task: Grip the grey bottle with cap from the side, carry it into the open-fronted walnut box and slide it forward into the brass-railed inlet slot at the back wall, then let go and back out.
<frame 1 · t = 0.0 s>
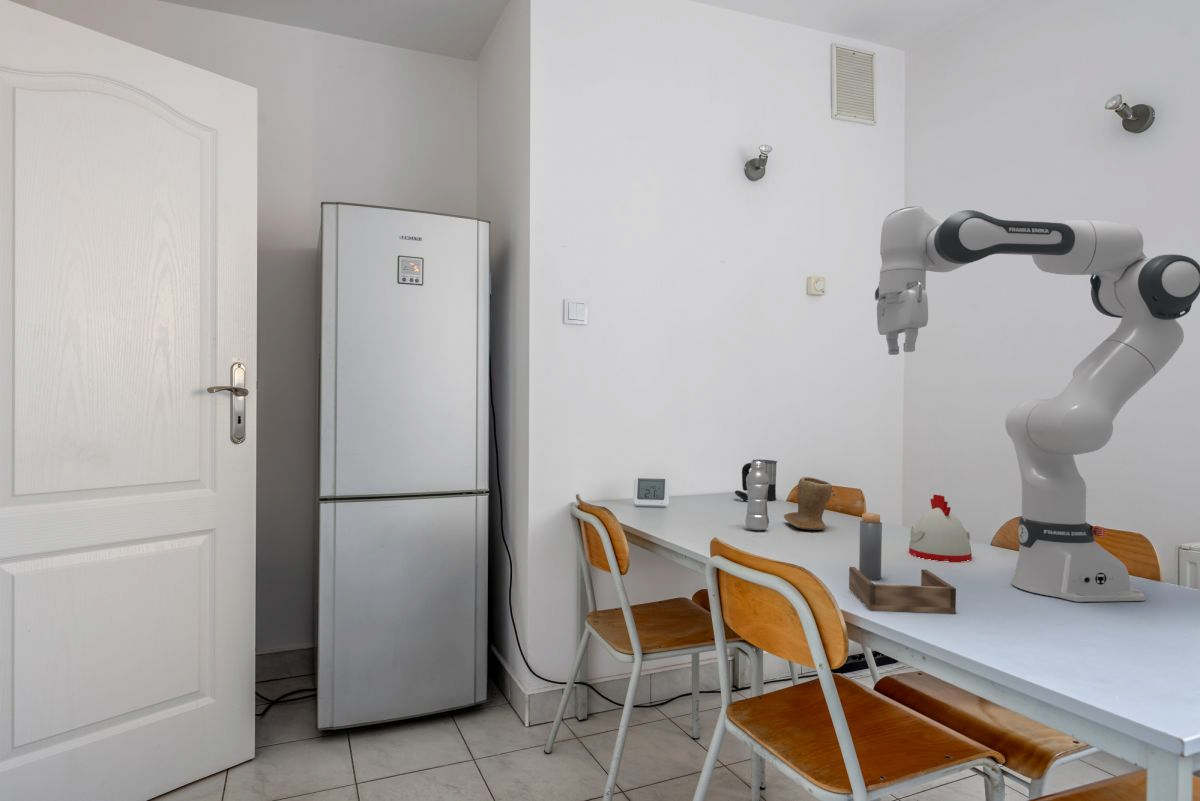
hand: (901, 353, 146), 48 cm above the table, tool pointing down, fingers open, 8 cm apart
box: (899, 600, 134), on the table
brown flared piece: (808, 528, 208), on the table
kitchen timer: (939, 556, 173), on the table
plastic bottle: (756, 531, 203), on the table
grey bottle with cap: (869, 577, 151), on the table
milk frother: (755, 500, 264), on the table
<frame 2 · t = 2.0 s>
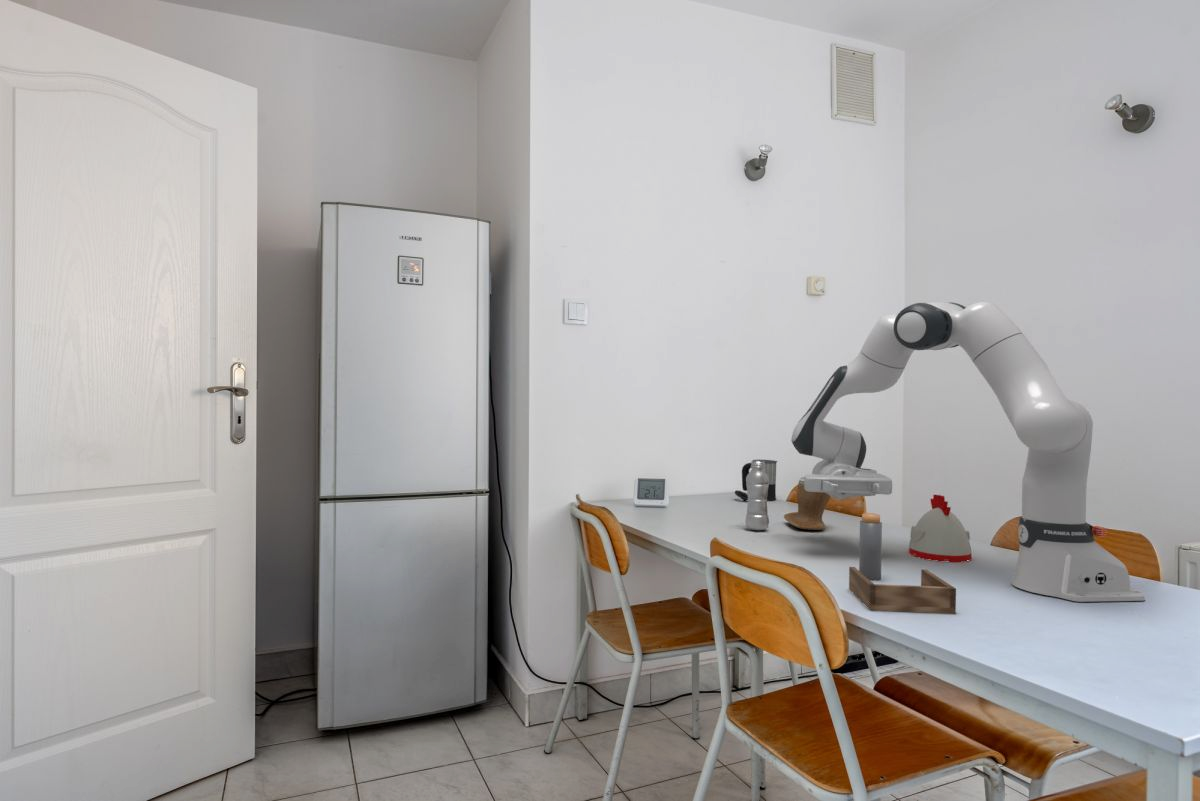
hand: (855, 488, 163), 18 cm above the table, tool horizontal, fingers open, 8 cm apart
nothing on the table moved.
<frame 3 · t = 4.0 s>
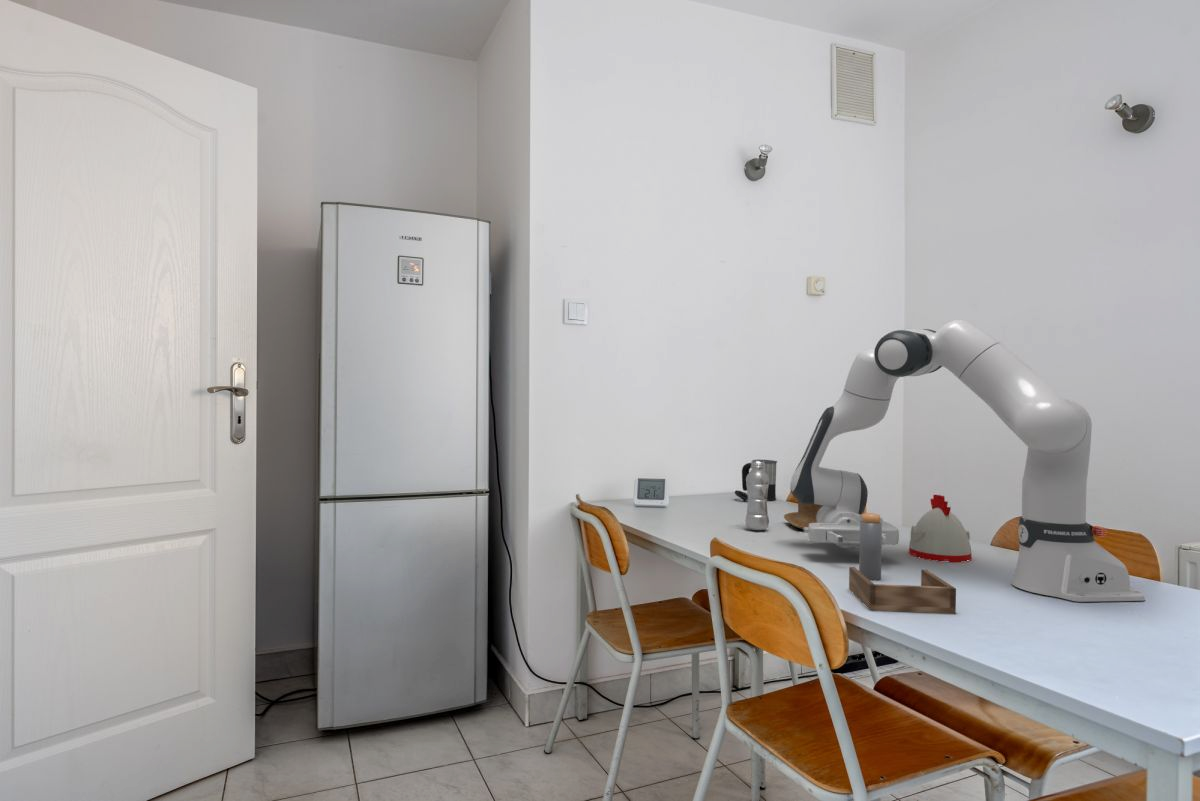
hand: (861, 540, 158), 6 cm above the table, tool horizontal, fingers open, 8 cm apart
nothing on the table moved.
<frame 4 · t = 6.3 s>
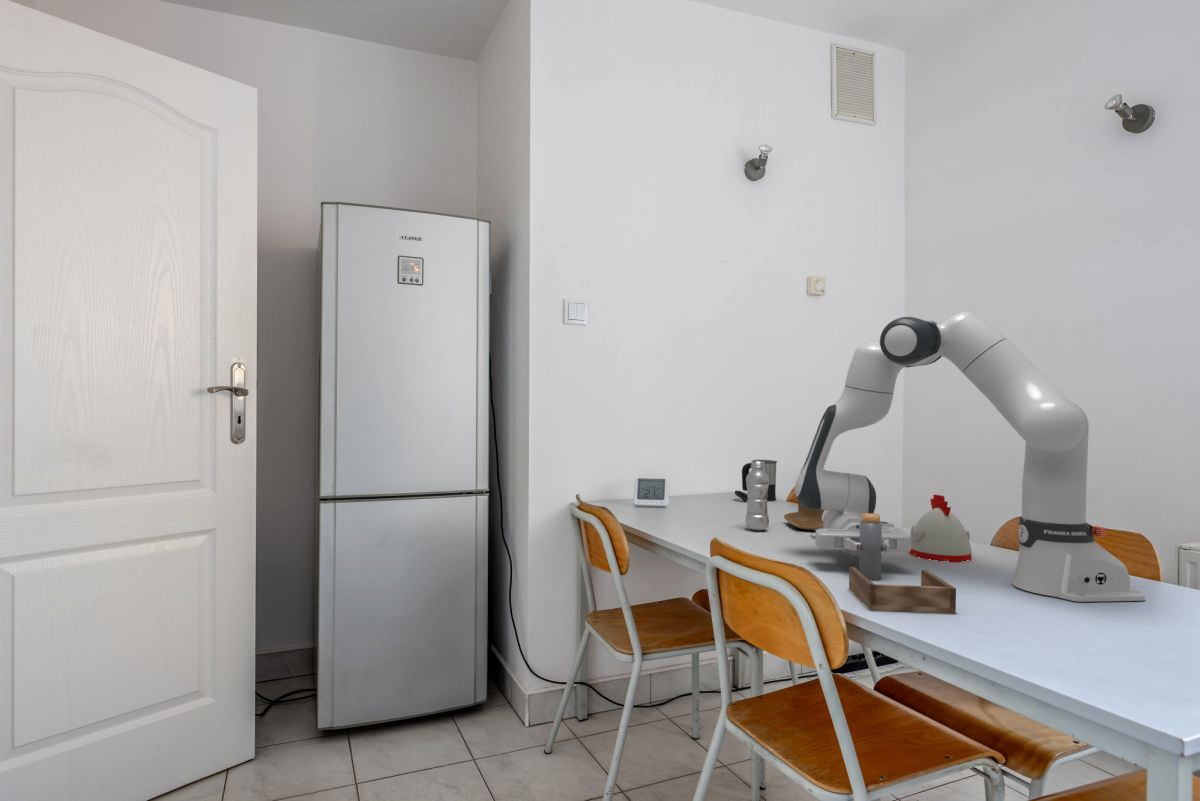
hand: (871, 547, 150), 7 cm above the table, tool horizontal, fingers closed on grey bottle with cap, 4 cm apart
grey bottle with cap: (869, 577, 151), on the table, touching gripper
everything else where it was.
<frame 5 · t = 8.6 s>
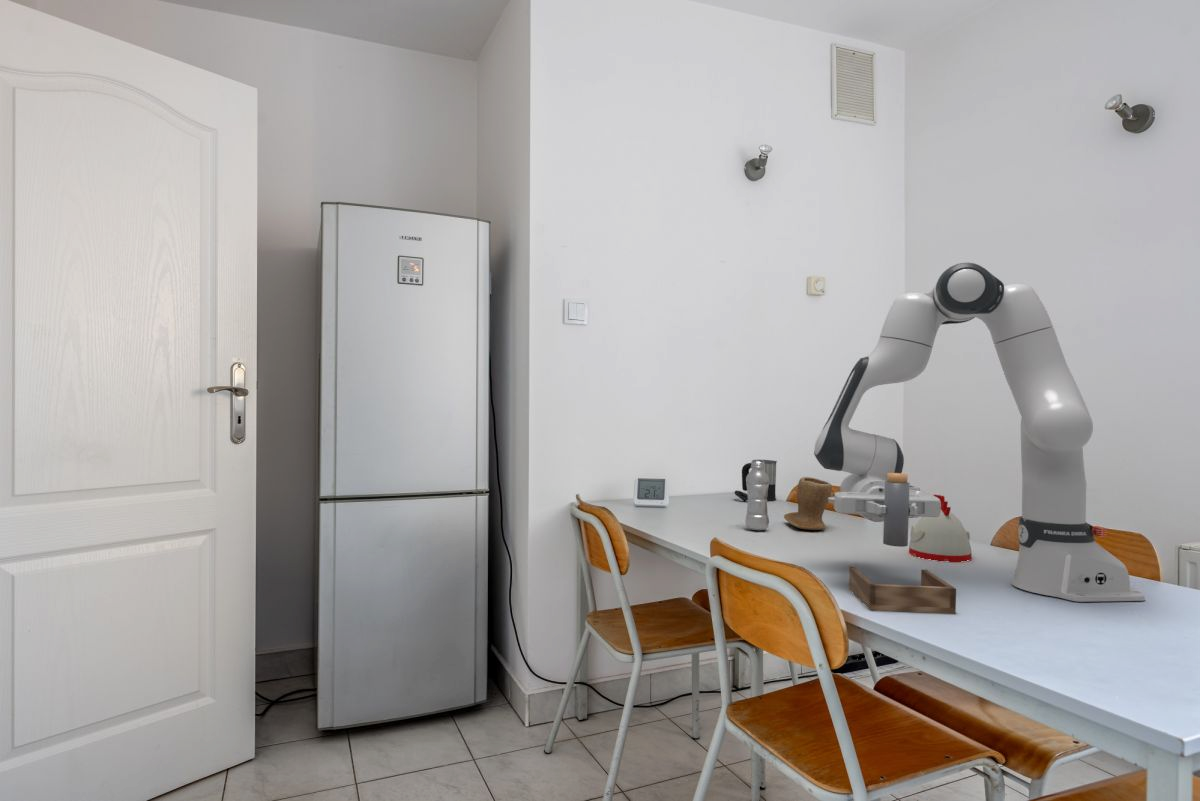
hand: (897, 510, 135), 17 cm above the table, tool horizontal, fingers closed on grey bottle with cap, 4 cm apart
grey bottle with cap: (895, 544, 136), point 10 cm above the table, touching gripper
everything else where it was.
when the fingers open (9 cm above the table, at t = 11.1 s): grey bottle with cap drops 1 cm, resting on box.
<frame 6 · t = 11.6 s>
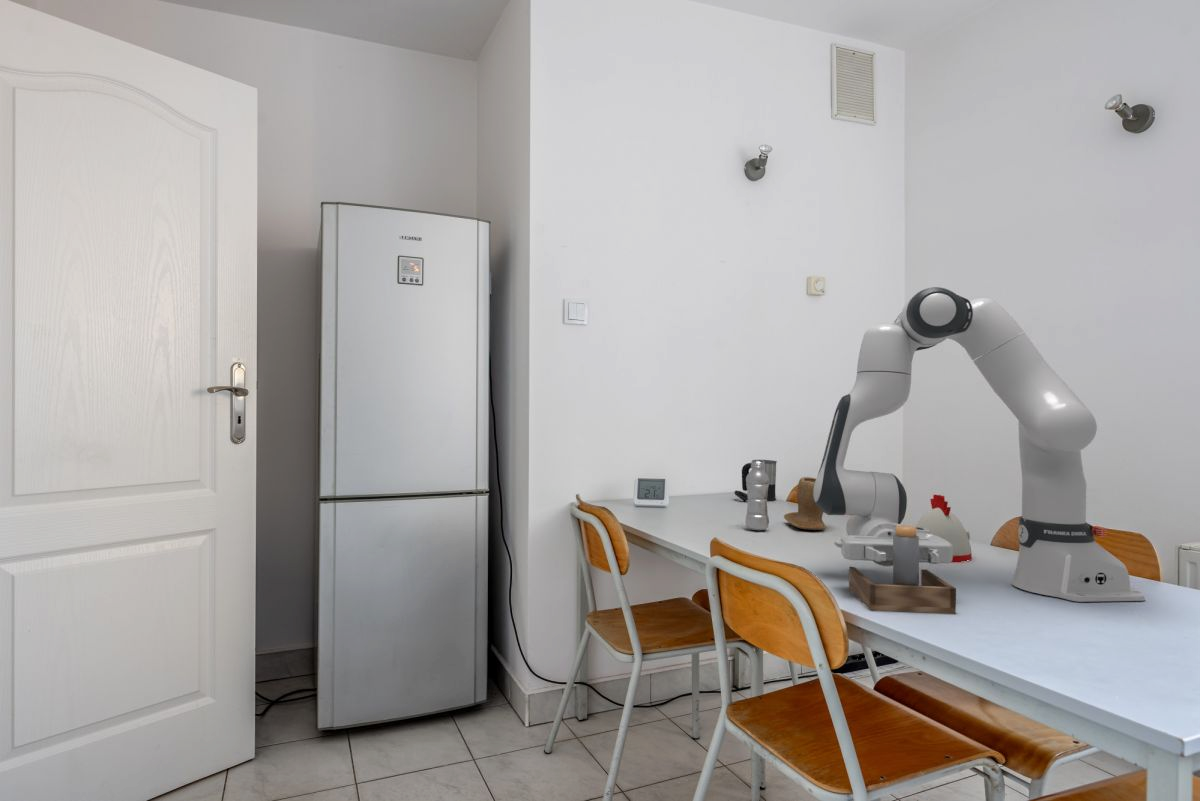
hand: (908, 558, 129), 9 cm above the table, tool horizontal, fingers open, 8 cm apart
grey bottle with cap: (905, 600, 130), point 1 cm above the table, touching box
everything else where it was.
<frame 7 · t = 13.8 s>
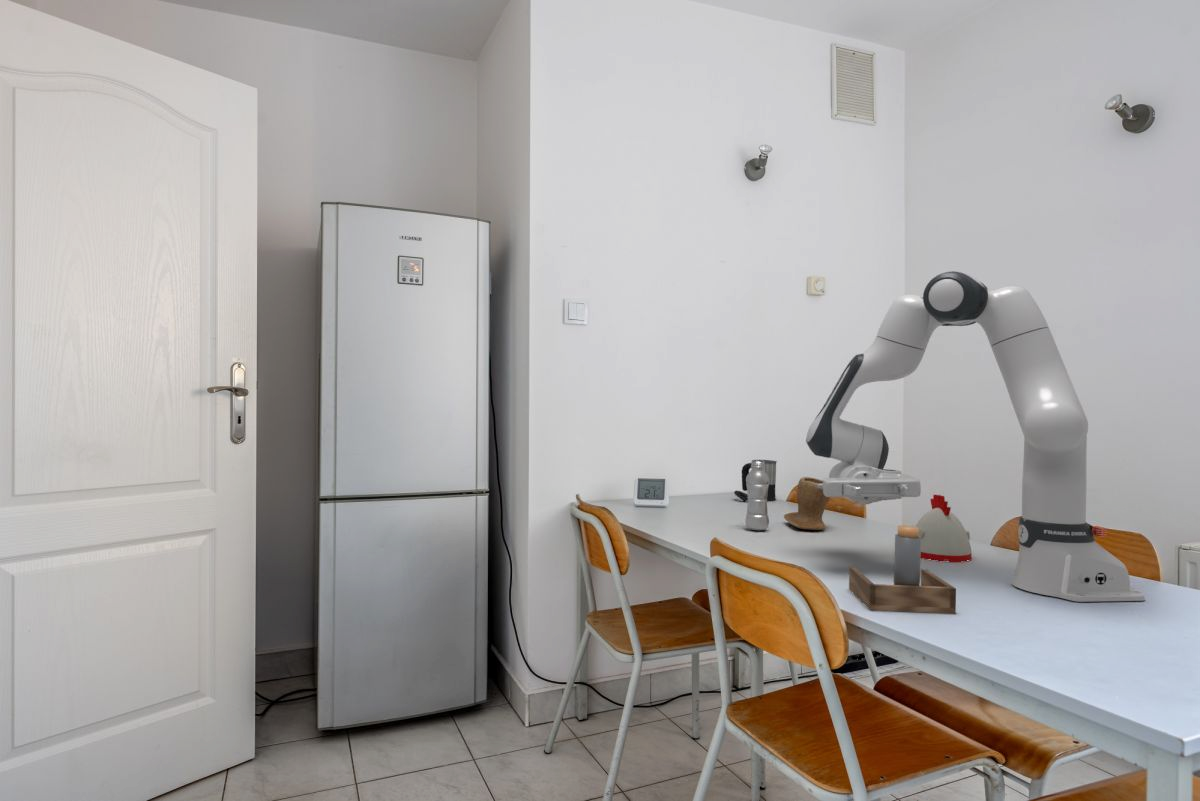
hand: (880, 491, 147), 19 cm above the table, tool horizontal, fingers open, 8 cm apart
nothing on the table moved.
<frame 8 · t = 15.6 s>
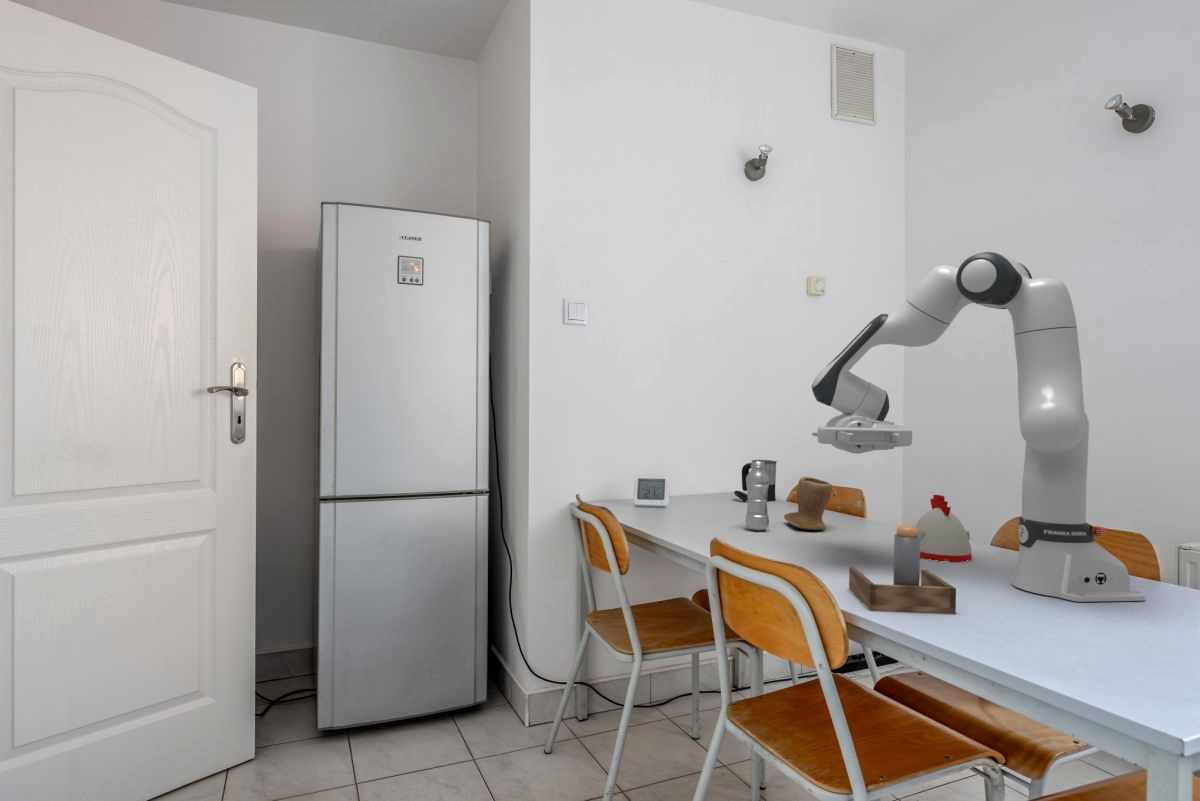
hand: (873, 437, 151), 30 cm above the table, tool horizontal, fingers open, 8 cm apart
nothing on the table moved.
at the end: grey bottle with cap 0.2 cm from the target spot on the box, point 1.0 cm above the box's base; grey bottle with cap tilted 0°; the gripper is holding nothing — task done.
